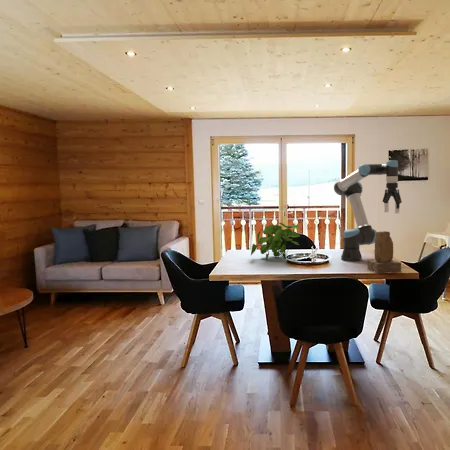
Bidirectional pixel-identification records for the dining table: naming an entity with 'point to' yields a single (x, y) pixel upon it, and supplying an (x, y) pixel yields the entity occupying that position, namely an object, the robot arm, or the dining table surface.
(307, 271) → the dining table surface
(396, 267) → the block
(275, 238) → the indoor plant
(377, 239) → the block
